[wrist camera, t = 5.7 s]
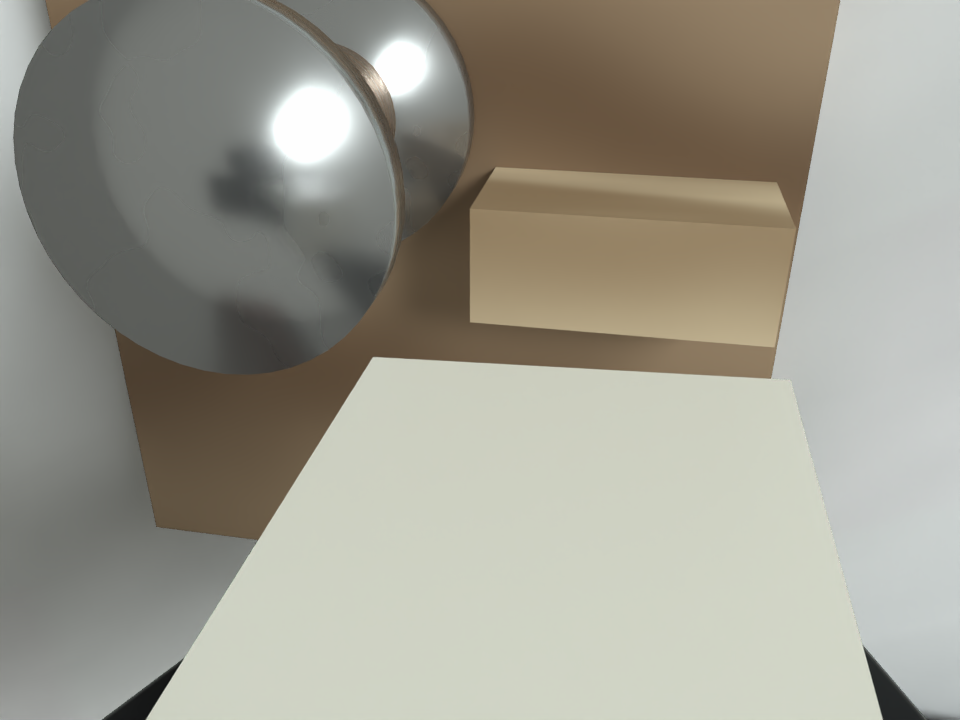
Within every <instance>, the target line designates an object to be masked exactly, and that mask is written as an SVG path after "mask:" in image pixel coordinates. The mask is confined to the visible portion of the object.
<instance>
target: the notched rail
mask: <svg viewBox="0 0 960 720" xmlns="http://www.w3.org/2000/svg"><path fill="white" fill-rule="evenodd" d="M795 232H796V227H795V225H794V223H793V220H792V218H791V215H790V213H789V210H788V208H787V206H786V203H785V201H784V198H783V196H782V194H781V191H780V189H779V186H778V184H777V182H761V181H742V180H724V179H706V178H687V177H669V176H650V175H632V174H613V173H595V172H576V171H558V170H539V169H521V168H502V167H495V169H494V171H493V172H492V174H491V175H490V177H489V179H488V180H487V182H486V184H485V185H484V187H483V188H482V190H481V192H480V193H479V195H478V196H477V198H476V200H475V201H474V203H473V204H472V206H471V208H470V322H473V323H485V324H497V325H509V326H521V327H533V328H546V329H558V330H570V331H582V332H594V333H606V334H618V335H630V336H642V337H654V338H666V339H678V340H690V341H702V342H714V343H727V344H739V345H751V346H763V347H775V343H776V337H777V332H778V326H779V321H780V315H781V310H782V304H783V299H784V293H785V287H786V282H787V276H788V271H789V265H790V260H791V254H792V249H793V243H794V238H795Z"/></svg>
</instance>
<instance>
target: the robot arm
mask: <svg viewBox="0 0 960 720" xmlns="http://www.w3.org/2000/svg"><path fill="white" fill-rule="evenodd" d="M863 649H864V652H865V656H866V660H867V663H868V667H869V671H870V674H871V678H872V682H873V685H874V689H875V693H876V696H877V700H878V704H879V707H880V711H881V715H882V718H883V720H927V719H926V718H925V717H924V716H923V715H922V713H921V712H920V711H919V710H918V709H917V708H916V706H915V705H914V704H913V703H912V702H911V701H910V699H909V698H908V697H907V696H906V695H905V694H904V692H903V691H902V690H901V689H900V688H899V687H898V685H897V684H896V683H895V682H894V681H893V680H892V678H891V677H890V676H889V675H888V674H887V673H886V671H885V670H884V669H883V668H882V667H881V666H880V664H879V663H878V662H877V661H876V660H875V659H874V657H873V656H872V655H871V654H870V653H869V652H868V650H867V649H866V648H865V647H864V646H863ZM182 661H183V659H182V660H181V661H180V662H178V663H177V664H176V665H174V666H173V667H171V668H170V669H169V670H168V671H166V672H165V673H163V674H162V675H161V676H159V677H158V678H157V679H155V680H154V681H153V682H151V683H150V684H149V685H147V686H146V687H145V688H143V689H142V690H141V691H139V692H138V693H137V694H135V695H134V696H133V697H131V698H130V699H129V700H127V701H126V702H125V703H123V704H122V705H121V706H119V707H118V708H117V709H115V710H114V711H113V712H111V713H110V714H109V715H107V716H106V717H105V718H103V719H102V720H146V719H147V717H148V715H149V714H150V712H151V711H152V709H153V707H154V706H155V704H156V703H157V701H158V699H159V698H160V696H161V695H162V693H163V691H164V690H165V688H166V687H167V685H168V683H169V682H170V680H171V679H172V677H173V675H174V674H175V672H176V671H177V669H178V667H179V666H180V664H181V663H182Z"/></svg>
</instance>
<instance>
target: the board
mask: <svg viewBox="0 0 960 720" xmlns="http://www.w3.org/2000/svg"><path fill="white" fill-rule="evenodd" d="M45 1H46V5H47V10H48V15H49V20H50V24H51V29H53V28H54V26H56V25H57V24H58V23H59V22H60V21H61V20H62V19H63V18H64V17H66V16H67V15H68V14H69V13H70V12H71V11H72V10H74V9H76V8H77V7H79V6H80V5H82V4H84V3H85V2H87V1H88V0H45ZM425 1H426V2H427V3H428V4H429V5H430V6H431V7H432V8H433V9H434V10H435V12H436V13H437V14H438V15H439V17H440V18H441V19H442V20H443V22H444V23H445V25H446V26H447V28H448V30H449V31H450V33H451V34H452V36H453V38H454V39H455V41H456V43H457V46H458V48H459V50H460V52H461V54H462V56H463V59H464V62H465V65H466V68H467V71H468V74H469V78H470V83H471V88H472V93H473V101H474V131H473V139H472V144H471V149H470V154H469V157H468V160H467V163H466V166H465V169H464V171H463V173H462V175H461V177H460V179H459V181H458V183H457V185H456V187H455V188H454V190H453V191H452V193H451V194H450V196H449V197H448V199H447V200H446V201H445V203H444V204H443V206H442V207H441V208H440V210H439V211H438V212H437V213H436V214H435V215H434V216H433V217H432V218H431V220H430V221H429V222H428V223H426V224H425V225H424V226H423V227H422V228H420V229H419V230H418V231H417V232H415V233H414V234H412V235H411V236H409V237H407V238H406V239H404V240H402V241H401V245H400V248H399V251H398V254H397V258H396V261H395V264H394V267H393V269H392V271H391V273H390V275H389V277H388V279H387V281H386V283H385V285H384V287H383V289H382V290H381V292H380V293H379V294H378V296H377V297H376V299H375V300H374V302H373V303H372V305H371V306H370V307H369V309H368V310H367V312H366V313H365V314H364V316H363V317H362V319H361V320H360V321H359V322H358V324H357V325H356V326H355V327H354V328H353V329H352V330H351V331H350V332H349V333H348V334H347V335H346V336H345V337H344V338H343V339H342V340H340V341H339V342H338V343H337V344H335V345H334V346H333V347H331V348H330V349H329V350H327V351H326V352H324V353H322V354H320V355H319V356H317V357H315V358H313V359H311V360H310V361H307V362H304V363H302V364H299V365H297V366H294V367H291V368H288V369H283V370H279V371H275V372H270V373H261V374H250V375H242V374H223V373H217V372H210V371H204V370H200V369H197V368H193V367H189V366H186V365H182V364H179V363H177V362H174V361H172V360H169V359H167V358H164V357H162V356H159V355H157V354H155V353H153V352H151V351H150V350H148V349H146V348H144V347H142V346H140V345H138V344H137V343H135V342H134V341H132V340H130V339H129V338H127V337H126V336H124V335H123V334H121V333H120V332H118V331H117V330H116V329H115V333H116V337H117V342H118V347H119V351H120V356H121V361H122V366H123V370H124V375H125V380H126V385H127V389H128V394H129V399H130V404H131V408H132V413H133V418H134V423H135V427H136V432H137V437H138V442H139V446H140V451H141V456H142V460H143V465H144V470H145V475H146V479H147V484H148V489H149V494H150V498H151V503H152V508H153V513H154V517H155V522H156V527H161V528H169V529H177V530H185V531H192V532H200V533H208V534H216V535H224V536H232V537H239V538H247V539H255V540H259V538H260V537H261V535H262V533H263V532H264V530H265V529H266V527H267V525H268V524H269V522H270V521H271V519H272V517H273V516H274V514H275V513H276V511H277V509H278V508H279V506H280V505H281V503H282V502H283V500H284V498H285V497H286V495H287V494H288V492H289V490H290V489H291V487H292V486H293V484H294V482H295V481H296V479H297V478H298V476H299V474H300V473H301V471H302V470H303V468H304V466H305V465H306V463H307V462H308V460H309V458H310V457H311V455H312V454H313V452H314V450H315V449H316V447H317V446H318V444H319V442H320V441H321V439H322V438H323V436H324V434H325V433H326V431H327V430H328V428H329V426H330V425H331V423H332V422H333V420H334V419H335V417H336V415H337V414H338V412H339V411H340V409H341V407H342V406H343V404H344V403H345V401H346V399H347V398H348V396H349V395H350V393H351V391H352V390H353V388H354V387H355V385H356V383H357V382H358V380H359V379H360V377H361V375H362V374H363V372H364V371H365V369H366V367H367V366H368V364H369V363H370V361H371V359H372V358H373V357H383V358H401V359H420V360H438V361H456V362H474V363H492V364H510V365H529V366H547V367H565V368H583V369H601V370H619V371H638V372H656V373H674V374H692V375H710V376H728V377H747V378H765V379H771V376H772V370H773V365H774V360H775V354H776V349H777V343H778V338H779V332H780V327H781V321H782V316H783V310H784V305H785V299H786V294H787V289H788V283H789V278H790V272H791V267H792V261H793V256H794V250H795V245H796V239H797V234H798V228H799V223H800V217H801V212H802V207H803V201H804V196H805V190H806V185H807V179H808V174H809V168H810V163H811V157H812V152H813V146H814V141H815V135H816V130H817V125H818V119H819V114H820V108H821V103H822V97H823V92H824V86H825V81H826V75H827V70H828V64H829V59H830V53H831V48H832V43H833V37H834V32H835V26H836V21H837V15H838V10H839V4H840V0H425ZM495 167H502V168H521V169H539V170H558V171H576V172H595V173H613V174H632V175H650V176H669V177H687V178H706V179H724V180H742V181H761V182H777V184H778V186H779V189H780V191H781V194H782V196H783V198H784V201H785V203H786V206H787V208H788V210H789V213H790V215H791V218H792V220H793V223H794V225H795V227H796V232H795V238H794V243H793V249H792V254H791V260H790V265H789V271H788V276H787V282H786V287H785V293H784V299H783V304H782V310H781V315H780V321H779V326H778V332H777V337H776V343H775V347H763V346H751V345H739V344H727V343H714V342H702V341H690V340H678V339H666V338H654V337H642V336H630V335H618V334H606V333H594V332H582V331H570V330H558V329H546V328H533V327H521V326H509V325H497V324H485V323H473V322H470V208H471V206H472V204H473V203H474V201H475V200H476V198H477V196H478V195H479V193H480V192H481V190H482V188H483V187H484V185H485V184H486V182H487V180H488V179H489V177H490V175H491V174H492V172H493V171H494V169H495Z"/></svg>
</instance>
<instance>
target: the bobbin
mask: <svg viewBox="0 0 960 720" xmlns="http://www.w3.org/2000/svg"><path fill="white" fill-rule="evenodd" d="M473 131H474V101H473V93H472V88H471V83H470V78H469V74H468V71H467V68H466V65H465V62H464V59H463V56H462V54H461V52H460V50H459V48H458V46H457V43H456V41H455V39H454V38H453V36H452V34H451V33H450V31H449V30H448V28H447V26H446V25H445V23H444V22H443V20H442V19H441V18H440V17H439V15H438V14H437V13H436V12H435V10H434V9H433V8H432V7H431V6H430V5H429V4H428V3H427V2H426V1H425V0H88V1H87V2H85V3H84V4H82V5H80V6H79V7H77V8H76V9H74V10H72V11H71V12H70V13H69V14H68V15H67V16H66V17H64V18H63V19H62V20H61V21H60V22H59V23H58V24H57V25H56V26H54V28H53V29H52V30H51V31H50V33H49V34H48V35H47V36H46V38H45V39H44V40H43V42H42V43H41V44H40V45H39V47H38V49H37V51H36V53H35V54H34V56H33V58H32V60H31V62H30V63H29V65H28V68H27V70H26V73H25V76H24V79H23V81H22V84H21V87H20V90H19V95H18V100H17V105H16V110H15V120H14V136H13V139H14V154H15V165H16V170H17V175H18V181H19V186H20V190H21V193H22V196H23V200H24V203H25V206H26V209H27V212H28V215H29V217H30V219H31V222H32V224H33V227H34V229H35V231H36V234H37V236H38V238H39V239H40V241H41V243H42V245H43V247H44V248H45V250H46V252H47V254H48V256H49V257H50V259H51V260H52V262H53V263H54V265H55V266H56V268H57V269H58V271H59V272H60V273H61V275H62V276H63V278H64V279H65V280H66V281H67V283H68V284H69V285H70V286H71V287H72V289H73V290H74V291H75V292H76V293H77V295H78V296H79V297H80V298H81V299H82V300H83V301H84V302H85V303H86V304H87V305H88V306H89V307H90V308H91V309H92V310H93V311H94V312H95V313H96V314H97V315H98V316H100V317H101V318H102V319H103V320H105V321H106V322H107V323H108V324H109V325H111V326H112V327H113V328H114V329H116V330H117V331H118V332H120V333H121V334H123V335H124V336H126V337H127V338H129V339H130V340H132V341H134V342H135V343H137V344H138V345H140V346H142V347H144V348H146V349H148V350H150V351H151V352H153V353H155V354H157V355H159V356H162V357H164V358H167V359H169V360H172V361H174V362H177V363H179V364H182V365H186V366H189V367H193V368H197V369H200V370H204V371H210V372H217V373H223V374H242V375H250V374H261V373H270V372H275V371H279V370H283V369H288V368H291V367H294V366H297V365H299V364H302V363H304V362H307V361H310V360H311V359H313V358H315V357H317V356H319V355H320V354H322V353H324V352H326V351H327V350H329V349H330V348H331V347H333V346H334V345H335V344H337V343H338V342H339V341H340V340H342V339H343V338H344V337H345V336H346V335H347V334H348V333H349V332H350V331H351V330H352V329H353V328H354V327H355V326H356V325H357V324H358V322H359V321H360V320H361V319H362V317H363V316H364V314H365V313H366V312H367V310H368V309H369V307H370V306H371V305H372V303H373V302H374V300H375V299H376V297H377V296H378V294H379V293H380V292H381V290H382V289H383V287H384V285H385V283H386V281H387V279H388V277H389V275H390V273H391V271H392V269H393V267H394V264H395V261H396V258H397V254H398V251H399V248H400V245H401V241H402V240H404V239H406V238H407V237H409V236H411V235H412V234H414V233H415V232H417V231H418V230H419V229H420V228H422V227H423V226H424V225H425V224H426V223H428V222H429V221H430V220H431V218H432V217H433V216H434V215H435V214H436V213H437V212H438V211H439V210H440V208H441V207H442V206H443V204H444V203H445V201H446V200H447V199H448V197H449V196H450V194H451V193H452V191H453V190H454V188H455V187H456V185H457V183H458V181H459V179H460V177H461V175H462V173H463V171H464V169H465V166H466V163H467V160H468V157H469V154H470V149H471V144H472V139H473Z"/></svg>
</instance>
